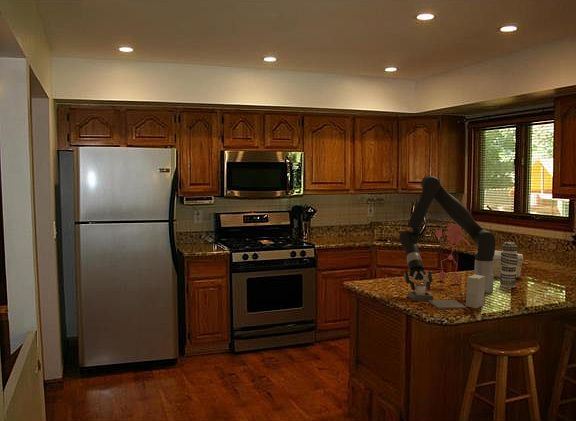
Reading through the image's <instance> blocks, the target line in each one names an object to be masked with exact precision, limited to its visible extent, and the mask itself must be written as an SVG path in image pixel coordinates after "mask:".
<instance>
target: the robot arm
mask: <svg viewBox="0 0 576 421" xmlns="http://www.w3.org/2000/svg"><path fill="white" fill-rule="evenodd" d="M420 183H421V184H420V186H421V189H422V192H421V195H420V198H419V200H418V202H417V204H416V205H415V207H414V209H413V210H412V213H411V215H410V218H409V220H408V222H407V226H408V227H409V228H410V229H412V231H408V230H402V231H401V232H400V233H399V236H398V238H399V242H400V244H401V246H402V248H403V250H404V252H405V255H406V264H407V267H408V271H407V270H405V271H404V274H403V276H404V280H405V283H406V284H409V285H410V288H411V290H412V291H415V287H416V284H415V281H421V282H424V283H426V291H430V289H431V284H432V282H433V276H432V272H431V270H430V271H429V270H428V272H427V271H425V267H424V264H423V260H422V257H421V254H420V250H419V247H418V246H417V244H418V243H419V240H420V235H421V234H420V233H421V227H422V226H423V222H424V219H425V217H426V214H427V213H428V209H429V207H430V205H431V204H432V201H433V200H435V201H437V203H438V204H439V206H440V207H441V209H443V211H445V213H446V214H447V216H448V217H450V218H451V219H452V220H453V222H455V224H458V225H459V226H460V227H462V229H463V230H464V231H465V232H466V233H467V234H468V236H469V237H470V238H471V239H472V241H473V242H474V244H476V245H477V251H476V253H475V255H474V273H473V275H474V274H476V275H481V276H485V292H484V294H488V293H494V278H495V277H494V275H493V274H492V269H493V257H494V254H495V250H496V236H495V235H494V233H492V232H491V231H489V230H487V229H484V228H483V227H482V226H481V225H480V224H479V223H477V222H476V220H475V219H474V218H473V215H472V214H471V212H470V211H469V209H468V208H466V206H464V204H463V203H461V202H460V201H459V200H458V199H457V198H456V197H455V196H453V195H452V194H451V193H449V192H448V191H447V190H446V189H445V188H444V187H443V185H442V184H441V181H440V180H439V179H438V178H437V177H436V176H434V175H426V176H424V177H423V178H422V180H421V182H420ZM410 277H411V279H410Z"/></svg>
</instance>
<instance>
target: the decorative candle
mask: <svg viewBox="0 0 576 421" xmlns="http://www.w3.org/2000/svg"><path fill="white" fill-rule="evenodd" d="M517 248H518V245H517V244H516V243H515V242H512V241H504V243H503V244H502V250H501V251H502V253H501V255H502V256H501V261H502V262H501V266H502V270H501V273H500V274H501V276H500V277H501V278H499V280H500V281H499V283H500V284H499V286H501V287H503V288H516V286H517V283H516V282H517V278H516V277H515V276H516V267H517V263H516V262H517V261H516V259H518V258H517V256H518V255H517V254H518V250H517Z"/></svg>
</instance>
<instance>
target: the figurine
mask: <svg viewBox="0 0 576 421" xmlns="http://www.w3.org/2000/svg"><path fill="white" fill-rule="evenodd" d="M462 229H463V228H462V227H460V226H459V225H458V224H457V223H455V224H454V223H453V222H450V223H449V226H447V231H445V232H444V234H445V236H447V237H446V239H447V241H445V242H443V241H441V237H442V235H443V232H442V230H441V229H438V230H436V231H435V236H436V238H437V239H438V238H439V243H440V244H448V245H450V246H451V247H452V250H451V253H450V255H448V257H447V258H445V259H442V260H441V261H440V265H441V271H439V280H438V283H439V282H441V280H442V281H443V280H445V279H447V280H449V278H446V277H447V274H446V272H445V271H443V270H444V269H443V263H442V262H443V261H446V260H450V261H451V260H452V261H453V262H454V263H455V268H457V266H458V265H457V264H458V263H457V262H456V261H455V260H454V257H453V252H454V249H455V248H456V246H457V245H458V244H459V243H460V241H462V240H463V241H464V242H465V243H466V244H467V245H468V246H470V247H471V246H472V245H471V244H470V243H469V242H468V240H467V239H466V238H464V237H463V236H464V235H465V233H464V231H463V230H462ZM454 243H455V245H454ZM452 275H453V278H452V281H451V283H450V285H453V284H454V281H457V282H458V284H460V285H461V284H462V280H461V279H460V277H459V276H458V275H457V270H455V271H454V273H453V274H452ZM463 282H465V283H466V281H463Z"/></svg>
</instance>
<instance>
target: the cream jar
mask: <svg viewBox="0 0 576 421" xmlns="http://www.w3.org/2000/svg"><path fill="white" fill-rule="evenodd" d="M426 289H427V287H426V283H425V282H423V281H417V282H415V290H414V291H415V296H419V295H425V291H426Z"/></svg>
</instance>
